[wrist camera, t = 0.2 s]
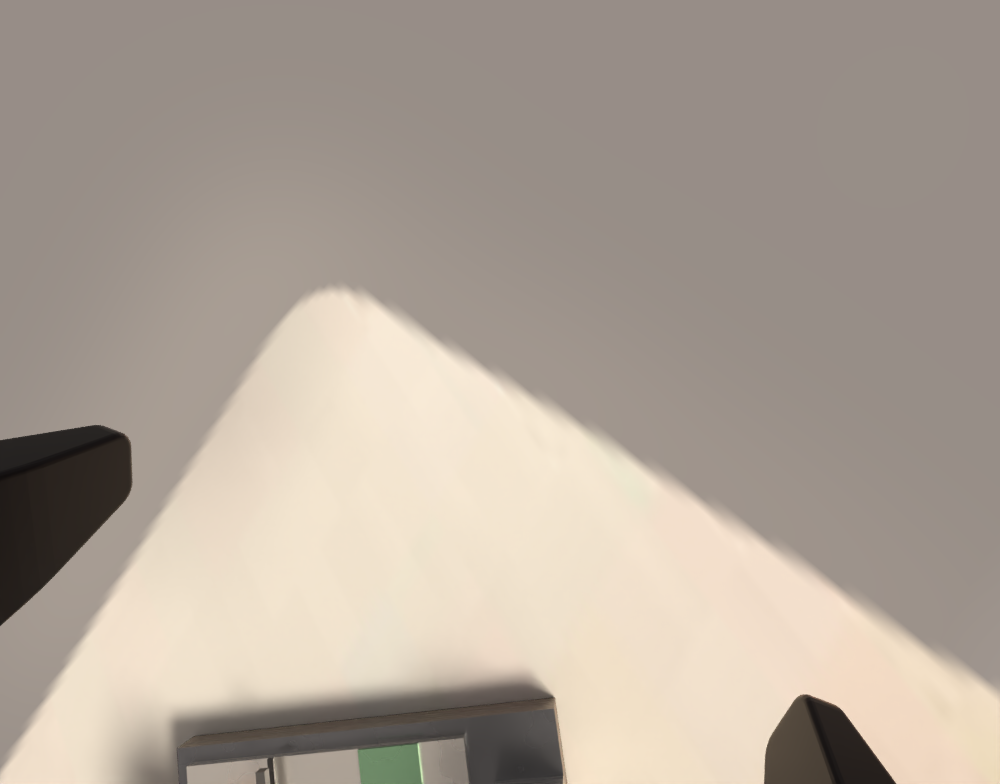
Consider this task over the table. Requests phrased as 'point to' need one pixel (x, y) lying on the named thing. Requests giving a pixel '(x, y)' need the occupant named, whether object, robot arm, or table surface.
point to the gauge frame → (390, 749)
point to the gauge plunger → (262, 776)
